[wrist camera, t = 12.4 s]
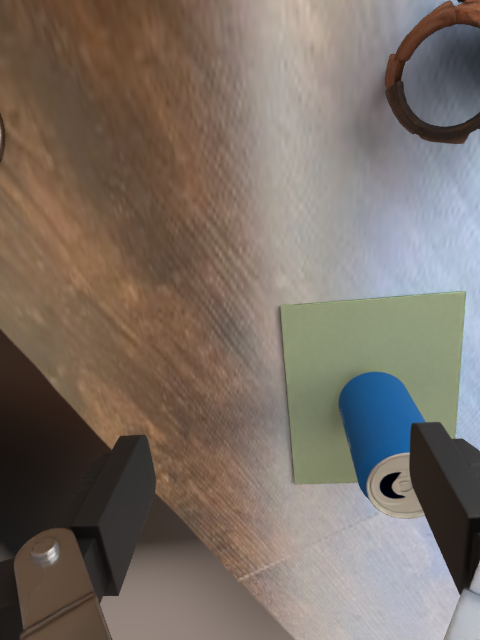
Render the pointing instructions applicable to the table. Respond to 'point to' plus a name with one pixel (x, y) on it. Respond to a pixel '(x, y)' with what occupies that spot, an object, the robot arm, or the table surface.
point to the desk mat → (366, 368)
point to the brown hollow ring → (473, 11)
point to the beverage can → (381, 440)
